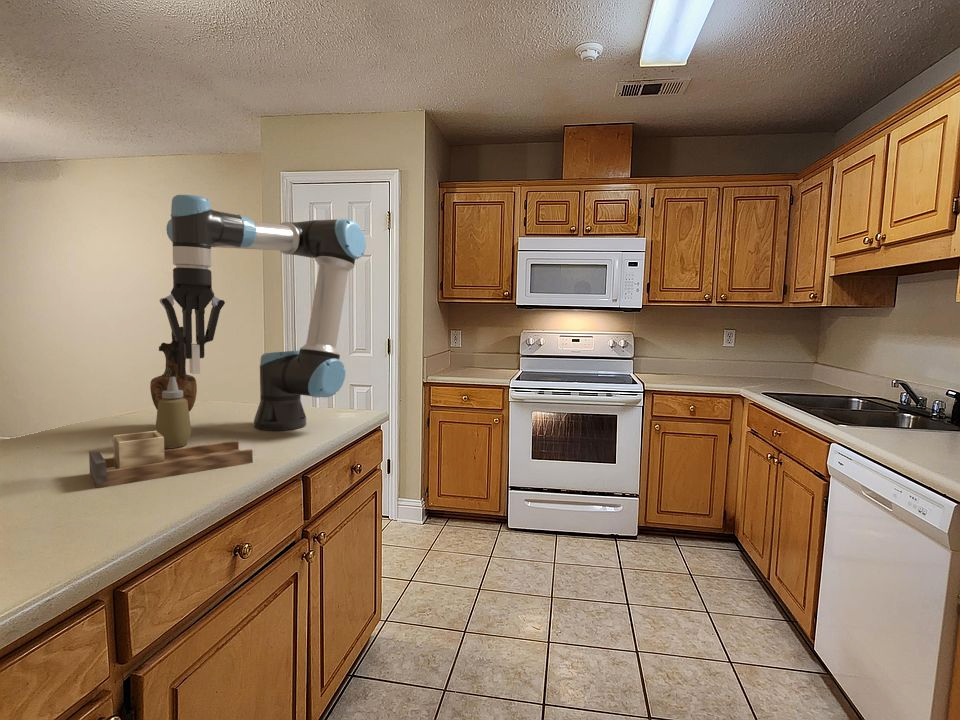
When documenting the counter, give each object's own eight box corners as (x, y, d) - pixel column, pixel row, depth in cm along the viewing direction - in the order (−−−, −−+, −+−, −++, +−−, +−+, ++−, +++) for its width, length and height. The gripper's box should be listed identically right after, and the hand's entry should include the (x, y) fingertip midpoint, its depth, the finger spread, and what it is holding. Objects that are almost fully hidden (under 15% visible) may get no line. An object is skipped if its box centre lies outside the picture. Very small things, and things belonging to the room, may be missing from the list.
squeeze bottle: (175, 451, 130) (174, 380, 129) (147, 448, 132) (146, 377, 130) (198, 443, 138) (197, 376, 136) (172, 440, 140) (171, 374, 138)
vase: (185, 421, 162) (184, 324, 159) (206, 428, 155) (204, 326, 152) (144, 427, 153) (141, 324, 150) (163, 434, 145) (161, 327, 143)
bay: (237, 452, 132) (237, 432, 131) (252, 462, 124) (252, 441, 123) (89, 473, 112) (89, 451, 111) (96, 488, 104) (96, 463, 103)
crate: (156, 460, 118) (156, 430, 118) (164, 469, 113) (164, 437, 112) (114, 467, 113) (113, 435, 112) (120, 476, 108) (119, 442, 107)
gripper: (218, 270, 123) (220, 369, 126) (154, 266, 114) (158, 372, 117) (229, 269, 118) (230, 373, 120) (162, 265, 109) (165, 376, 111)
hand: (194, 372), depth 119 cm, fingers closed
